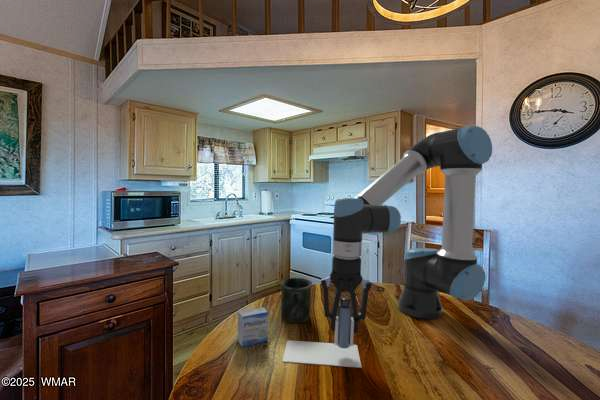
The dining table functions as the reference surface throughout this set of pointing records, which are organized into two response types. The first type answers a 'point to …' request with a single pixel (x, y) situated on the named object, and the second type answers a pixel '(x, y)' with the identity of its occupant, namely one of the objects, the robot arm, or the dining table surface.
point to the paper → (321, 354)
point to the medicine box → (252, 326)
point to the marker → (344, 323)
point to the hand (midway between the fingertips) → (343, 342)
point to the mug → (296, 300)
